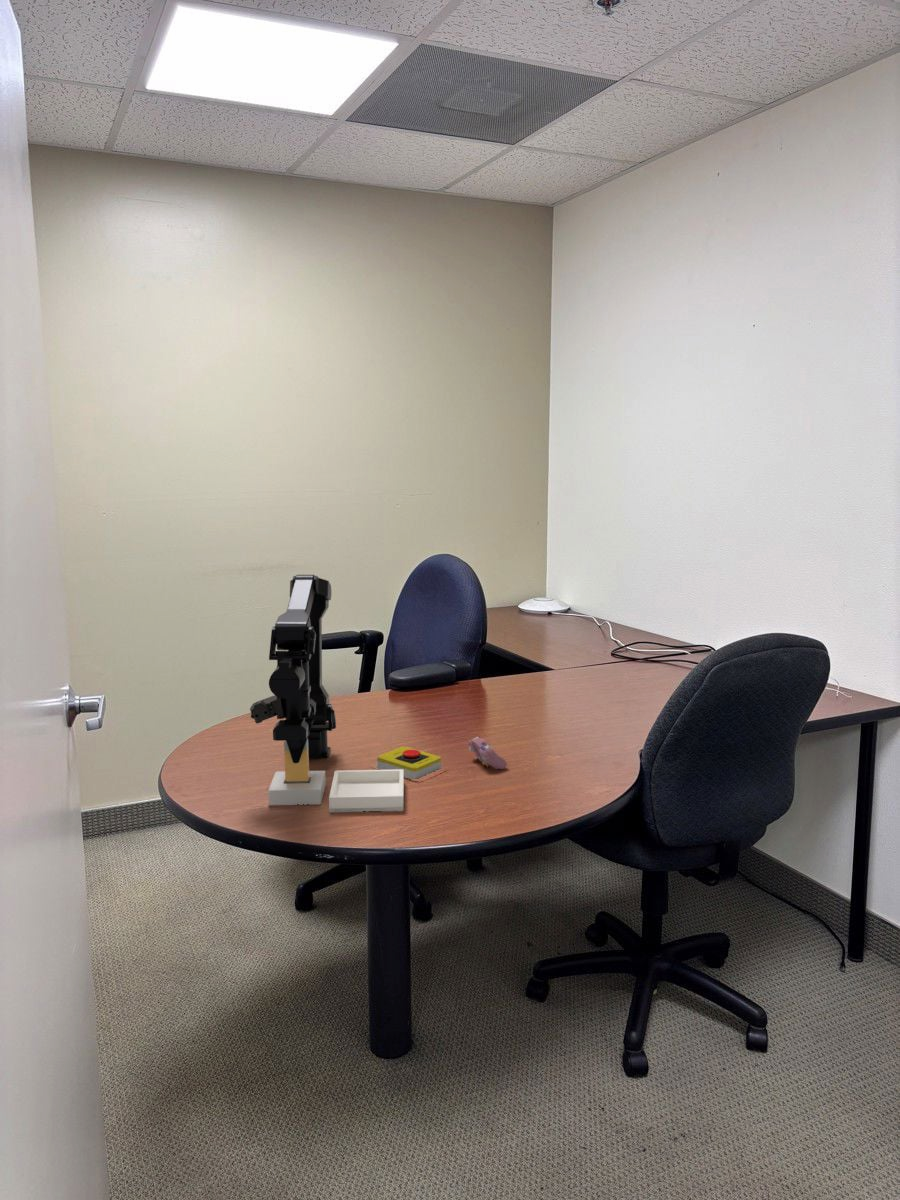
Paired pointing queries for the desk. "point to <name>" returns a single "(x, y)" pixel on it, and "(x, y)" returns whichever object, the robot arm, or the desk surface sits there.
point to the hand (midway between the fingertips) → (296, 760)
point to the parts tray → (367, 790)
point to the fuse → (296, 765)
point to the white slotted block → (297, 789)
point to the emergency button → (409, 762)
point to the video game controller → (486, 753)
